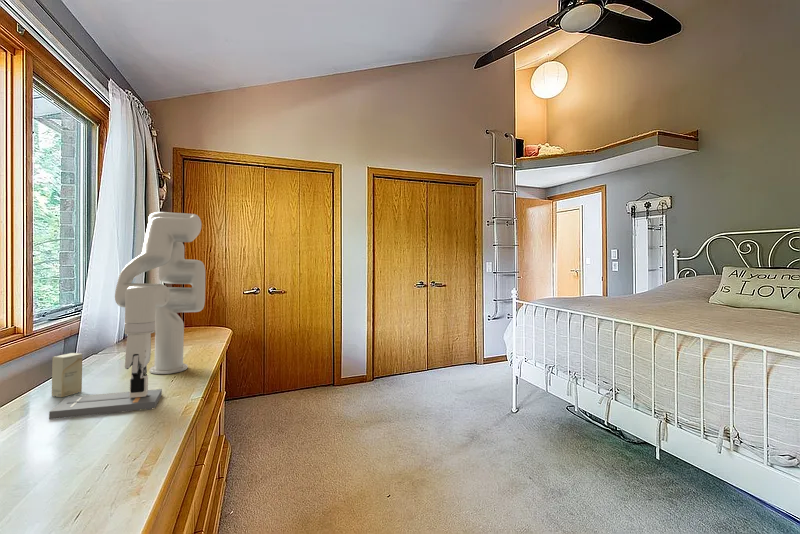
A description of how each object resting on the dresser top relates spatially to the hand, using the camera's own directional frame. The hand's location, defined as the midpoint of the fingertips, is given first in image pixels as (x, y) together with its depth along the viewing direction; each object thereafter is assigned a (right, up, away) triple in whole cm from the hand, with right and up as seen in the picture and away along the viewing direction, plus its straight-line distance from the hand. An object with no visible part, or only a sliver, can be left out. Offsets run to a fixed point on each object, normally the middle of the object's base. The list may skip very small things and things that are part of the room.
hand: (138, 389), depth 119 cm
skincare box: (-27, -4, +6) cm, 28 cm away
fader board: (-7, -4, -3) cm, 8 cm away
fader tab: (0, -2, 0) cm, 2 cm away
